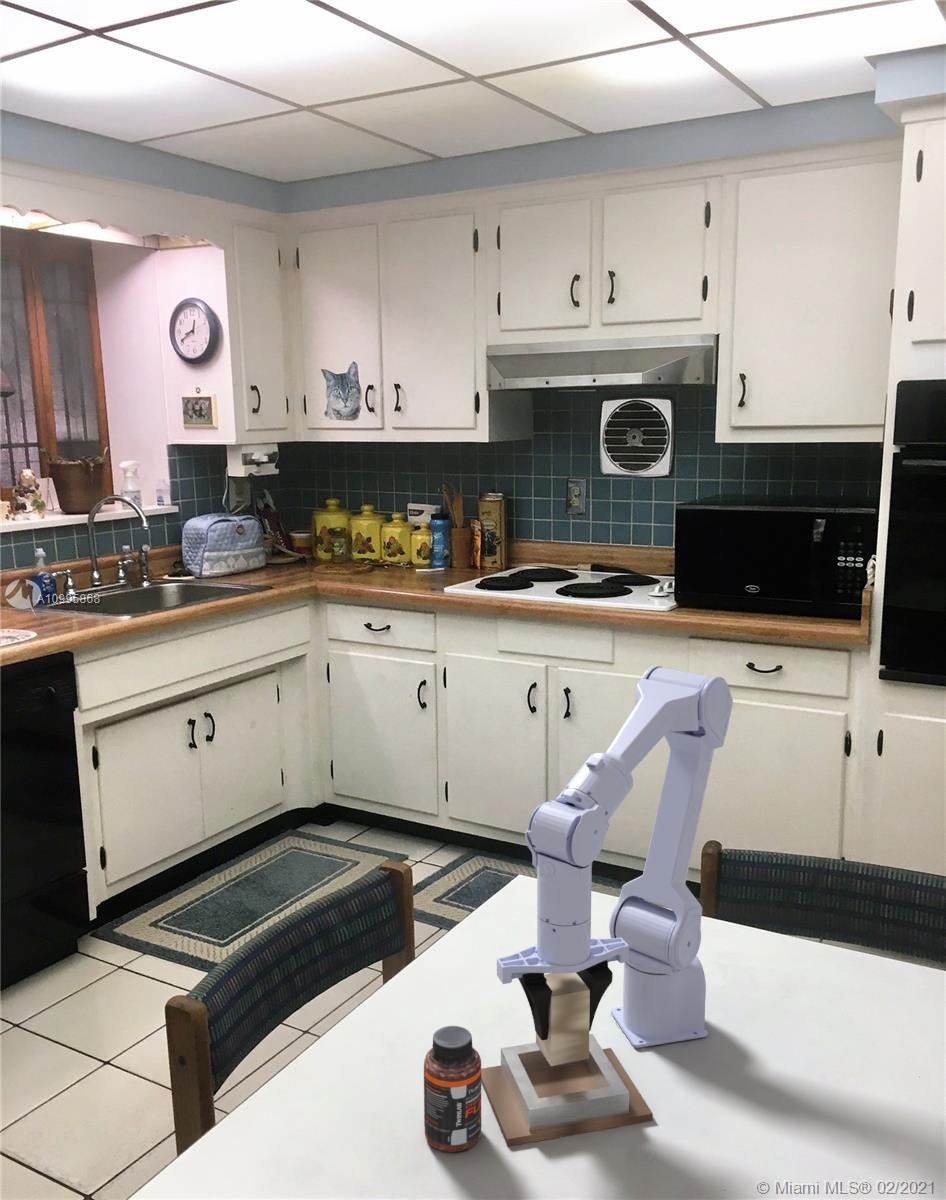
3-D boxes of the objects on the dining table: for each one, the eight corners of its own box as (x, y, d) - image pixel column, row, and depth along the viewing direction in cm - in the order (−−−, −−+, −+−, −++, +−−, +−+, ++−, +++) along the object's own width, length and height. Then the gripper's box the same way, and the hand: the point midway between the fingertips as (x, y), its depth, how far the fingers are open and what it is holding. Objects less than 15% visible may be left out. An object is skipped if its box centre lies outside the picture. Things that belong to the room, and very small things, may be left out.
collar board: (610, 1054, 121) (611, 1028, 120) (652, 1120, 110) (653, 1092, 109) (478, 1075, 117) (478, 1048, 117) (507, 1146, 106) (507, 1117, 105)
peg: (572, 1035, 115) (573, 969, 114) (588, 1058, 111) (589, 989, 110) (535, 1043, 114) (536, 976, 113) (550, 1066, 110) (551, 996, 108)
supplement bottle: (475, 1159, 104) (474, 1056, 102) (418, 1151, 105) (416, 1050, 103) (486, 1120, 110) (486, 1022, 108) (432, 1113, 111) (430, 1016, 109)
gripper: (610, 888, 116) (608, 999, 118) (487, 906, 111) (487, 1022, 114) (638, 916, 109) (636, 1033, 111) (509, 937, 105) (509, 1059, 107)
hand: (562, 1030), depth 112 cm, fingers closed on peg, 4 cm apart
